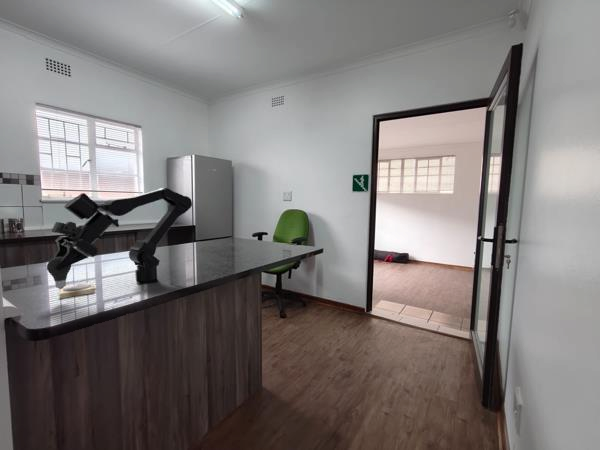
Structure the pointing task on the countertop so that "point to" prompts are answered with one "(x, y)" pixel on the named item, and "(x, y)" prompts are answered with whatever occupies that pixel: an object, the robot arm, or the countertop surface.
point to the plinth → (77, 290)
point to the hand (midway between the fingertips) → (53, 268)
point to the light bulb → (58, 272)
